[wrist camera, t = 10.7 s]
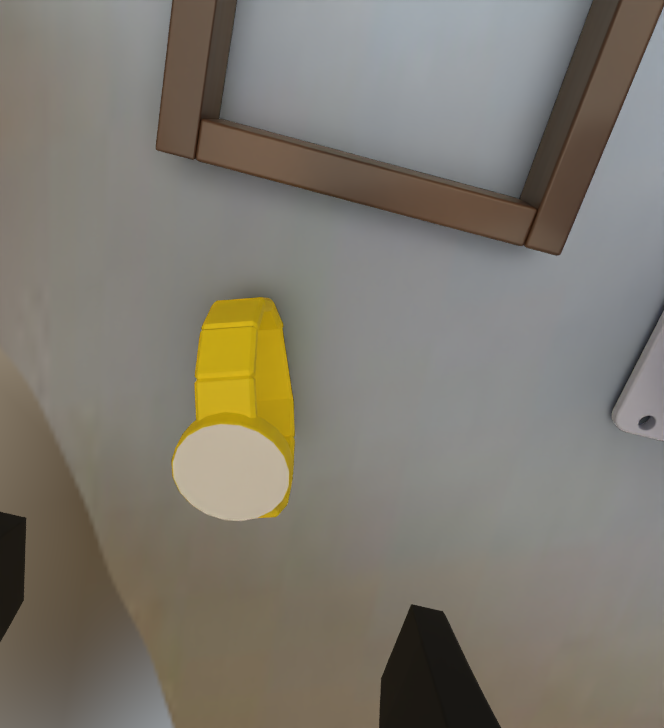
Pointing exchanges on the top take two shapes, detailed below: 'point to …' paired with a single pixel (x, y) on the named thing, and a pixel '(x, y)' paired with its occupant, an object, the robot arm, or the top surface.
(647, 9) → the holder
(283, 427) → the watch
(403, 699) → the robot arm
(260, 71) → the top surface
